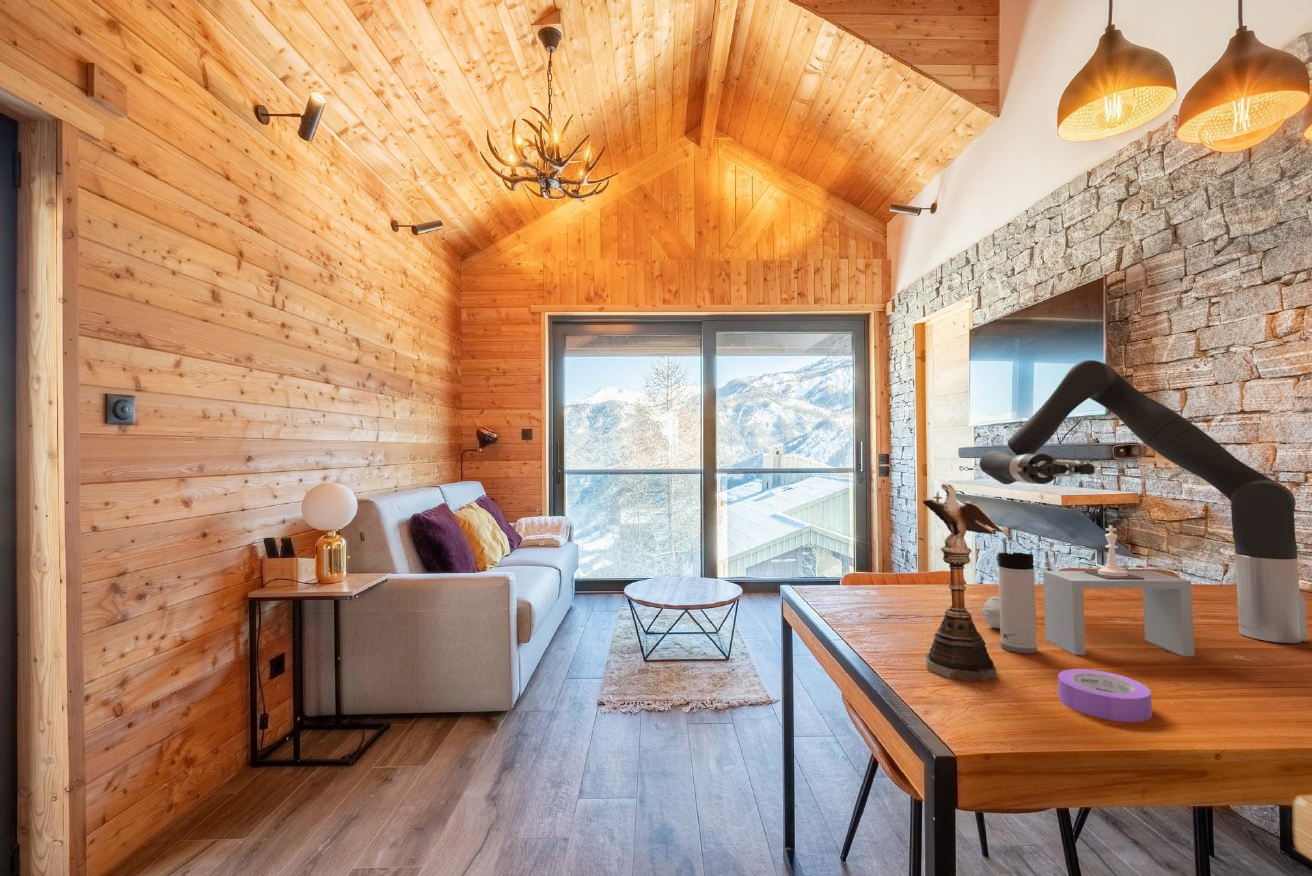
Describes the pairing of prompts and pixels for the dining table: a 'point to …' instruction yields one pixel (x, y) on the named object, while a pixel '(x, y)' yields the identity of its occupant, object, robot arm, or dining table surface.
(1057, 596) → the bridge
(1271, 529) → the robot arm
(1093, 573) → the pad
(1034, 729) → the dining table surface
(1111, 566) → the chess piece
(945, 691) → the dining table surface
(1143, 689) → the masking tape
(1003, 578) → the travel mug
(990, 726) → the dining table surface
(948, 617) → the bird statue
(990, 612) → the frog figurine
